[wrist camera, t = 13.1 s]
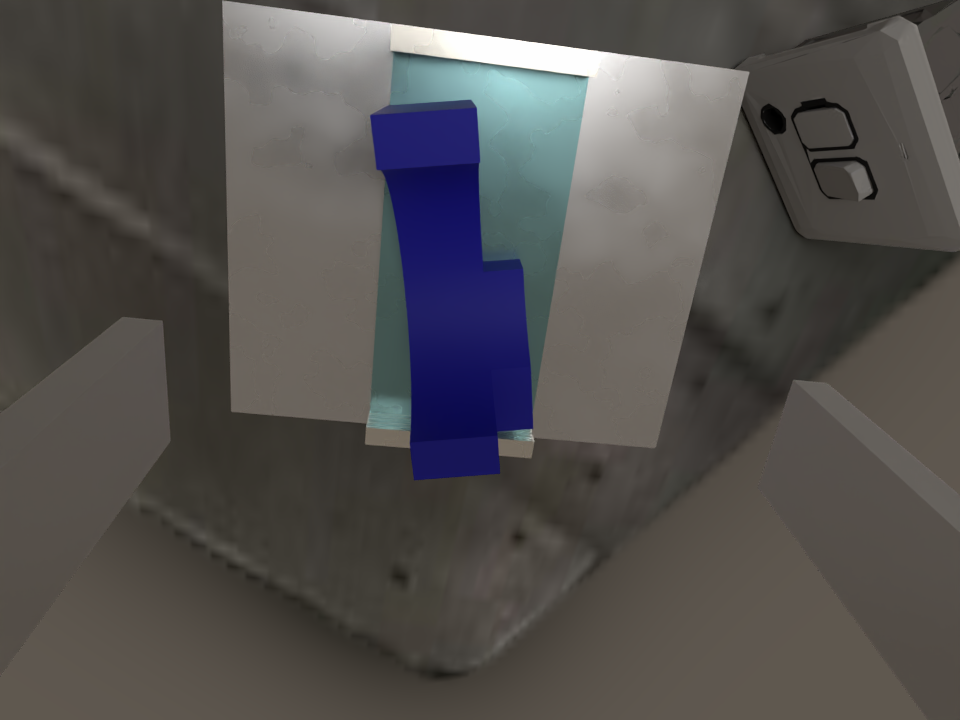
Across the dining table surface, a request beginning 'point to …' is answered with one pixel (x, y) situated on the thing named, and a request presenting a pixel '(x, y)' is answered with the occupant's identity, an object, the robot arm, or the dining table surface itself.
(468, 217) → the blue stepped piece
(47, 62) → the dining table surface
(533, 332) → the white boxy block
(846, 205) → the electrical switch
